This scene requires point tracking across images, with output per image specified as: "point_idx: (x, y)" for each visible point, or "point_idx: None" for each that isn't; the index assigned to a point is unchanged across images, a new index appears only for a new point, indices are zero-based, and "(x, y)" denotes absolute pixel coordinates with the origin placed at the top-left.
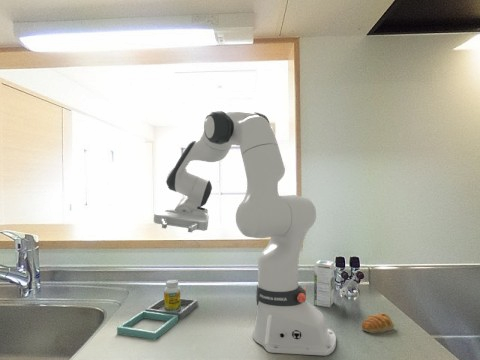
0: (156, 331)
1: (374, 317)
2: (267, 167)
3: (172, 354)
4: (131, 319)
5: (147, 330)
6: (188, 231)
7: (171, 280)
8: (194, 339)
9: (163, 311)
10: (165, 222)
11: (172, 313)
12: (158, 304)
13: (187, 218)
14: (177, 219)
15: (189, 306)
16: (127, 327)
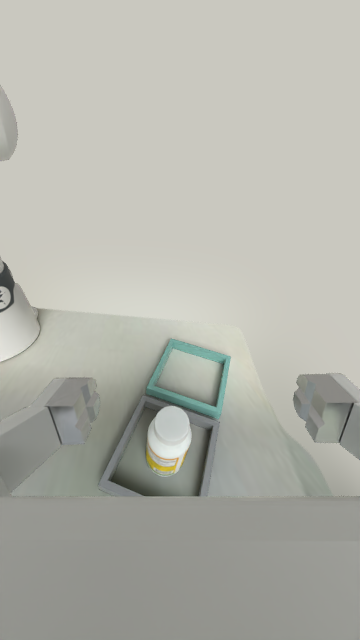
0: (171, 341)
1: None
2: None
3: (145, 318)
4: (223, 378)
5: (184, 345)
6: (95, 401)
7: (175, 432)
8: (119, 341)
9: None
10: (340, 396)
11: (158, 400)
12: (204, 468)
13: (44, 551)
14: (262, 502)
15: (123, 434)
16: (215, 354)
